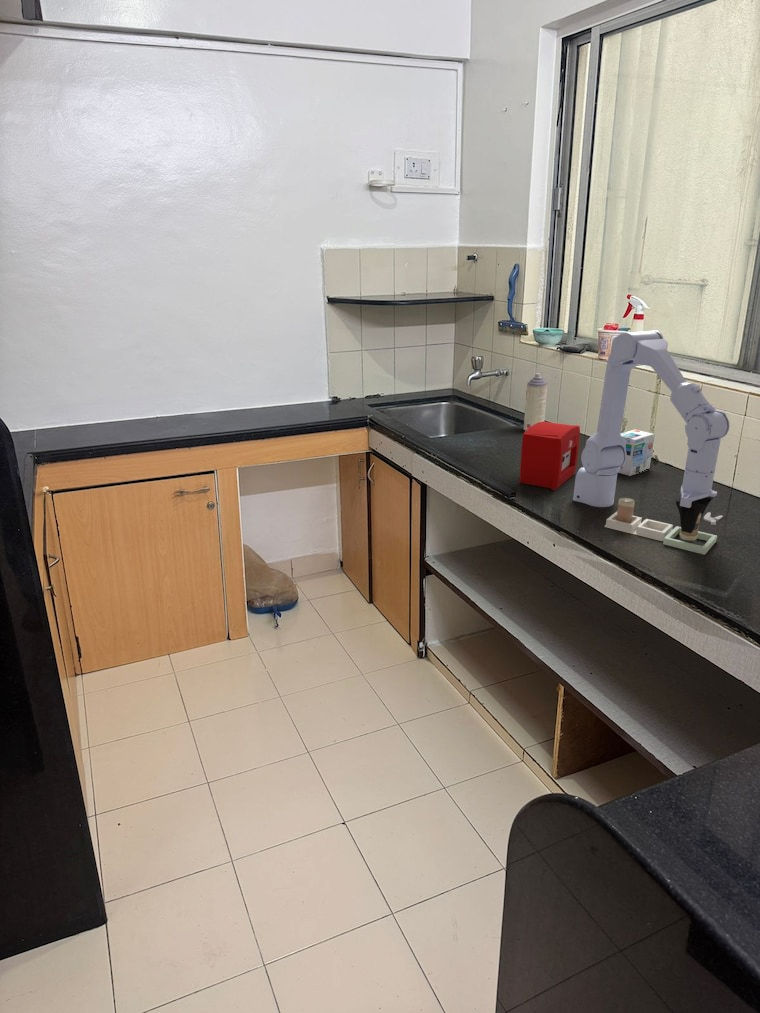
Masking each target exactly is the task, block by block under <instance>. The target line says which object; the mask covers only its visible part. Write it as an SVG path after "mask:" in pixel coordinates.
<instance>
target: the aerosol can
mask: <svg viewBox="0 0 760 1013" xmlns="http://www.w3.org/2000/svg"><path fill="white" fill-rule="evenodd" d="M534 375H535V376H533V377H532V378H530V380H529V381H528V382H527V384H526V390H525V391H526V394H525V405H524V406H525V407H524V419H523V420H524V421H523V430H525V431H526V430H527V429H528V428H530V427H531V426H532V425H534V424H536V423H538V422H545V419H546V418H545V417H546V407H547V397H548V395H547V394H548V382H546V381H545V379H543V377H542V376H541V375H542V374H541V373H540V372H539V373H537V372H536V373H535V374H534Z"/></svg>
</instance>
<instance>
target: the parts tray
mask: <svg viewBox="0 0 760 1013" xmlns="http://www.w3.org/2000/svg"><path fill="white" fill-rule="evenodd" d="M680 531H681V526H675V527H674V528H672V531H671V532H670V533H669V534H668V535H667V536H666V537H665V538H664V540H663V541H662V542H663V543H662V545H665V546H668V547H673V548H675V549H676V548H677V549H681V550H684V551H689V552H692V553H697V554H700V555H703V556H704V555H706V554H707V553H708V552H709V550H710V549H711V548H712V547H713V546H714V545H715V543H717V538H718V535H715V534H712V533H708V532H703V531H699V530H698V535H697V539H698V540H701V541H702V540H703V541H706V542H705V543H704V544H703V545H700V544H696V543H693V542H692V543H691V542H688V541H684V540H679V539H676V537H677V536H678V535H680Z"/></svg>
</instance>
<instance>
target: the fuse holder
mask: <svg viewBox="0 0 760 1013" xmlns="http://www.w3.org/2000/svg"><path fill="white" fill-rule="evenodd" d="M616 518H617V511H615V512H614V513H612V515H610V516H609V517H607V518H606V522H605V525H604V528H607V529H608V528H609V529H612V530H616V531H620V532H624V533H628V534H632V535H636V536H640V537H643V538H648V539H652V540H656V541H661V542H663V541H664V538H665V537H666V536H667V535H668V534H669V533H670V532H671V531H672V530H673V529H674V528H673V527H674V524H671V523H667V522H662V521H658V520H654V519H650V518H649V519H648V518H645V519H644V520H643V517H640V516H637V515H633V517H632V523H631V524H629V523H625V522H621V521H617V520H616ZM642 520H643V521H642Z"/></svg>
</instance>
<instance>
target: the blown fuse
mask: <svg viewBox="0 0 760 1013" xmlns="http://www.w3.org/2000/svg"><path fill="white" fill-rule="evenodd" d="M700 518H701V513H700V515H699V517H698V519H697V522H696V525H695V528H694V530H693V532H692V533H687V532H683V531H682V530H681V531H680V534H679V538H680V539H681V540H683V541H684V540H685V541H687V542H688V541H691V542H694V541H697V535H698V531H699V528H700V523H701V521H700ZM701 519H702V518H701Z"/></svg>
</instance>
